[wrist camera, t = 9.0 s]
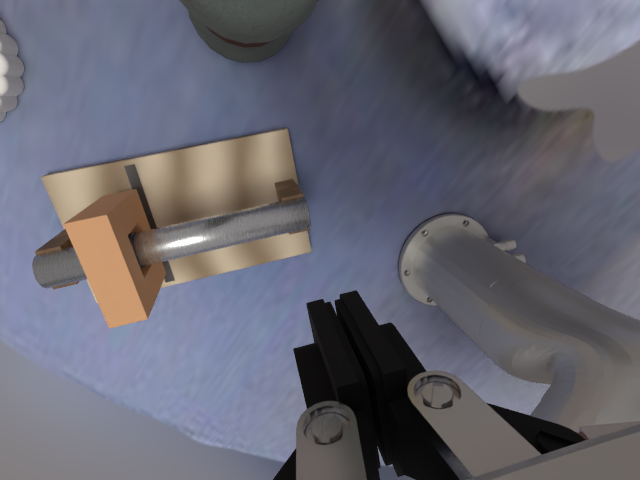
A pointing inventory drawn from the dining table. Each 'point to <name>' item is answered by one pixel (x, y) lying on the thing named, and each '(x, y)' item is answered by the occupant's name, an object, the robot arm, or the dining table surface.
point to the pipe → (185, 239)
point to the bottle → (247, 25)
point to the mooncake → (9, 73)
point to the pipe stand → (193, 196)
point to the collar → (116, 257)
